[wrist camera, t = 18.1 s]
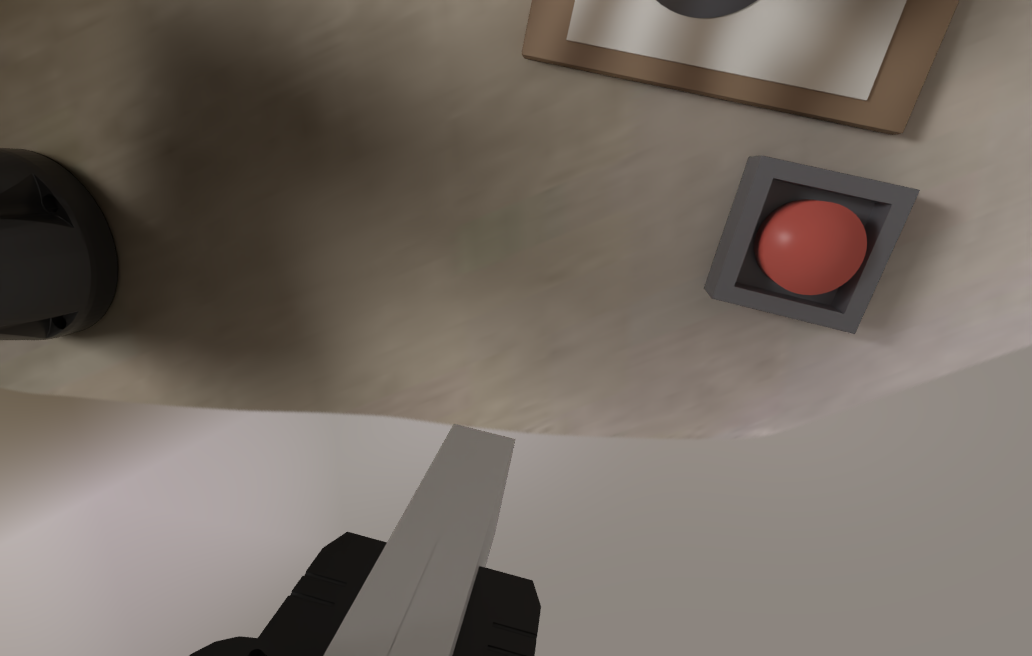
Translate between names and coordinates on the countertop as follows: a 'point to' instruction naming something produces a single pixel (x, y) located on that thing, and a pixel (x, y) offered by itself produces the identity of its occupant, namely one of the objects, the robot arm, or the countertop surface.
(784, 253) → the button
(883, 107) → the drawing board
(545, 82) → the countertop surface
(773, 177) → the button housing
